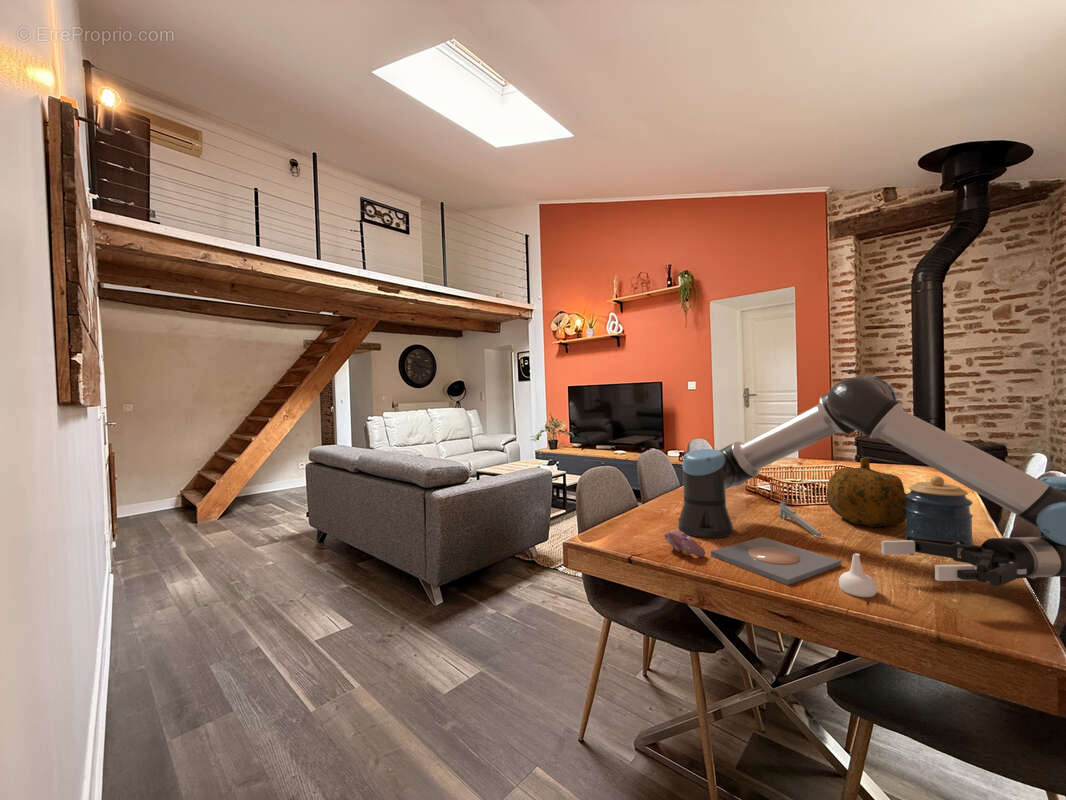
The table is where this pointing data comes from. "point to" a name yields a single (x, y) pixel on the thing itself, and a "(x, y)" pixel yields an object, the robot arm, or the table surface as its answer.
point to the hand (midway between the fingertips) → (907, 559)
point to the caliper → (796, 518)
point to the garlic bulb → (857, 580)
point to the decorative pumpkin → (867, 496)
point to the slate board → (776, 560)
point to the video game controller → (684, 543)
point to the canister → (938, 512)
